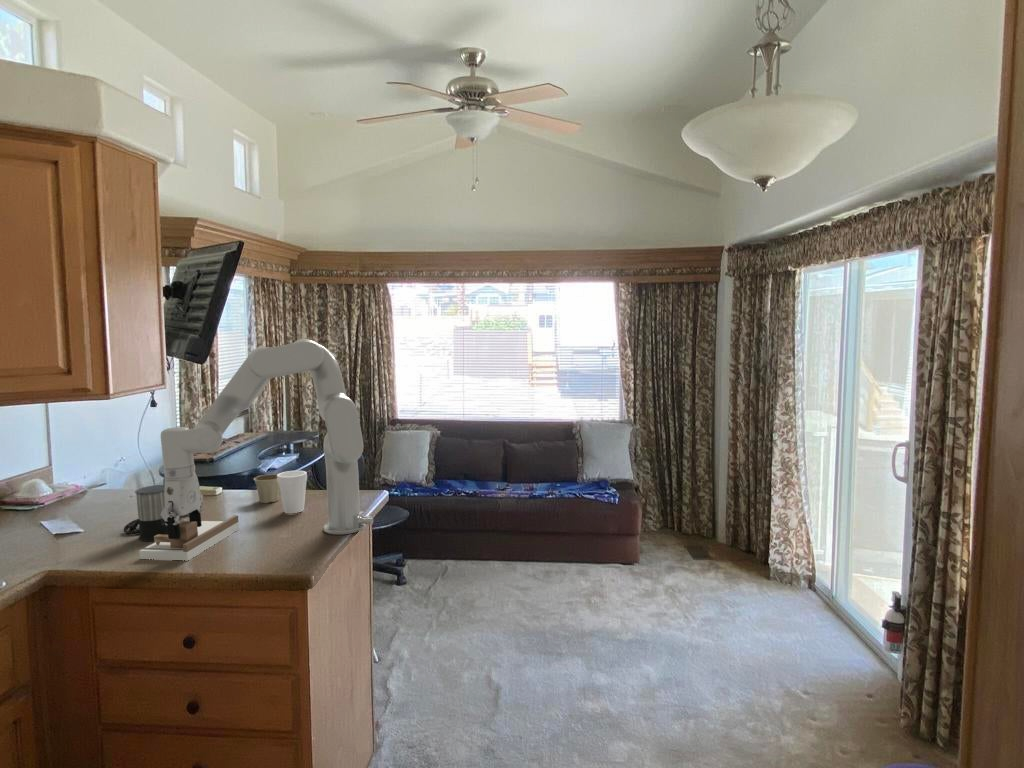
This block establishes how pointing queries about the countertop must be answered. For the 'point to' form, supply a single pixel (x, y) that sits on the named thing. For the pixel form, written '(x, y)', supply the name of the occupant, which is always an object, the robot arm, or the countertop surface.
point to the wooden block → (186, 534)
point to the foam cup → (292, 490)
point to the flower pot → (267, 488)
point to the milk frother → (149, 513)
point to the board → (193, 541)
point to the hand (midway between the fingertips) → (185, 532)
